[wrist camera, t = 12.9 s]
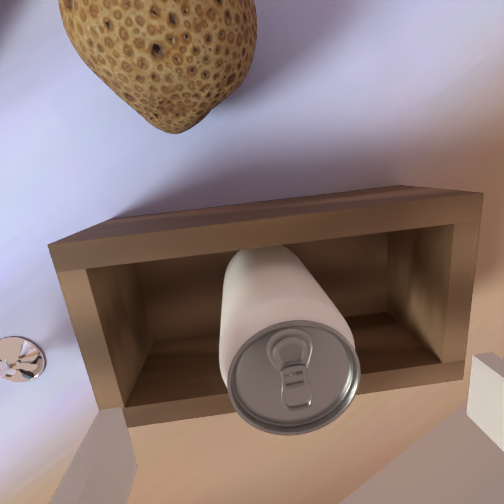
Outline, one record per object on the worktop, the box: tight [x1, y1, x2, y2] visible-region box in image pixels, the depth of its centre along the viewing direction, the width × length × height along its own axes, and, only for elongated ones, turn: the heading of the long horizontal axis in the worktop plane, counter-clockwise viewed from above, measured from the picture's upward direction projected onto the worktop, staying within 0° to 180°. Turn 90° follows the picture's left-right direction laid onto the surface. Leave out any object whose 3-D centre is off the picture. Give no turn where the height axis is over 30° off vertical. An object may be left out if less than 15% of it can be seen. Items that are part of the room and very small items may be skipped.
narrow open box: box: [48, 185, 483, 428], centre depth 21 cm, size 12×23×8 cm, turn 96°
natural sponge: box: [59, 0, 257, 134], centre depth 15 cm, size 9×9×10 cm
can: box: [219, 245, 361, 436], centre depth 18 cm, size 6×6×12 cm
